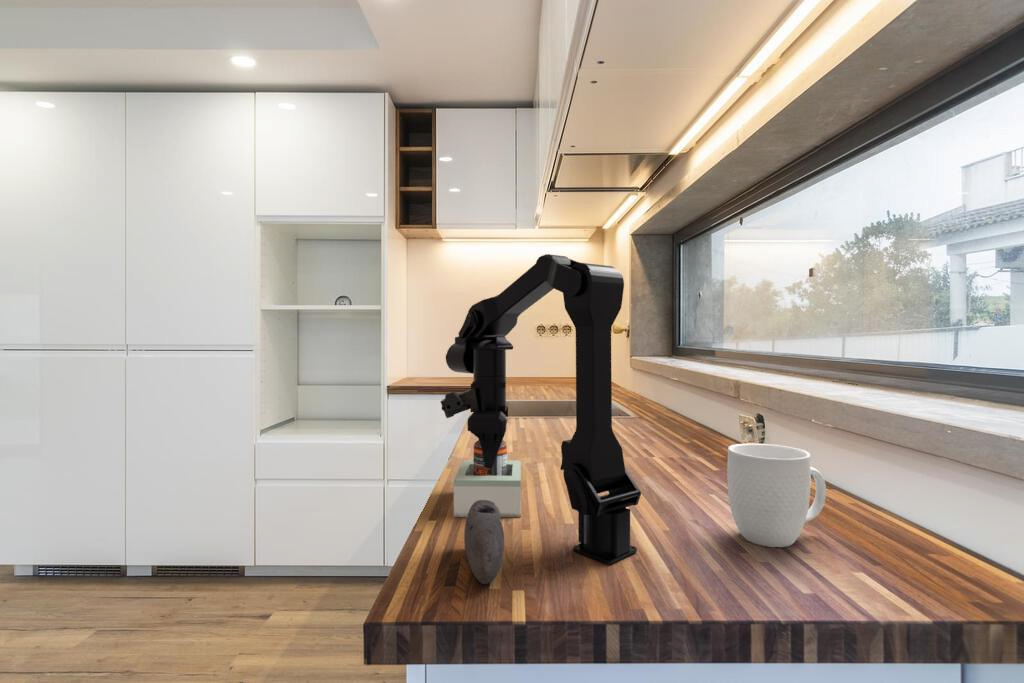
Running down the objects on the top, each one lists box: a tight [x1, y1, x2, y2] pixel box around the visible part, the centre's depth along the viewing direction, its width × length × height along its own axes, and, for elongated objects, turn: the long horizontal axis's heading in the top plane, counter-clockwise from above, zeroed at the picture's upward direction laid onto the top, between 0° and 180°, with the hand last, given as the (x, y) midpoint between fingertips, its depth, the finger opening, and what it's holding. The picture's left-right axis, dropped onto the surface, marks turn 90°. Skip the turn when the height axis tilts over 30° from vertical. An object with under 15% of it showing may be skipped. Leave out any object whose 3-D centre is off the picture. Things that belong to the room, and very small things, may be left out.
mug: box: [726, 442, 827, 548], centre depth 80 cm, size 15×11×13 cm
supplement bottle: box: [473, 439, 508, 476], centre depth 96 cm, size 6×6×11 cm
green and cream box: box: [453, 459, 522, 518], centre depth 96 cm, size 11×14×6 cm
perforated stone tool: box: [463, 500, 505, 585], centre depth 70 cm, size 15×5×7 cm, turn 2°
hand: (490, 463), depth 96 cm, fingers closed on supplement bottle, 6 cm apart
